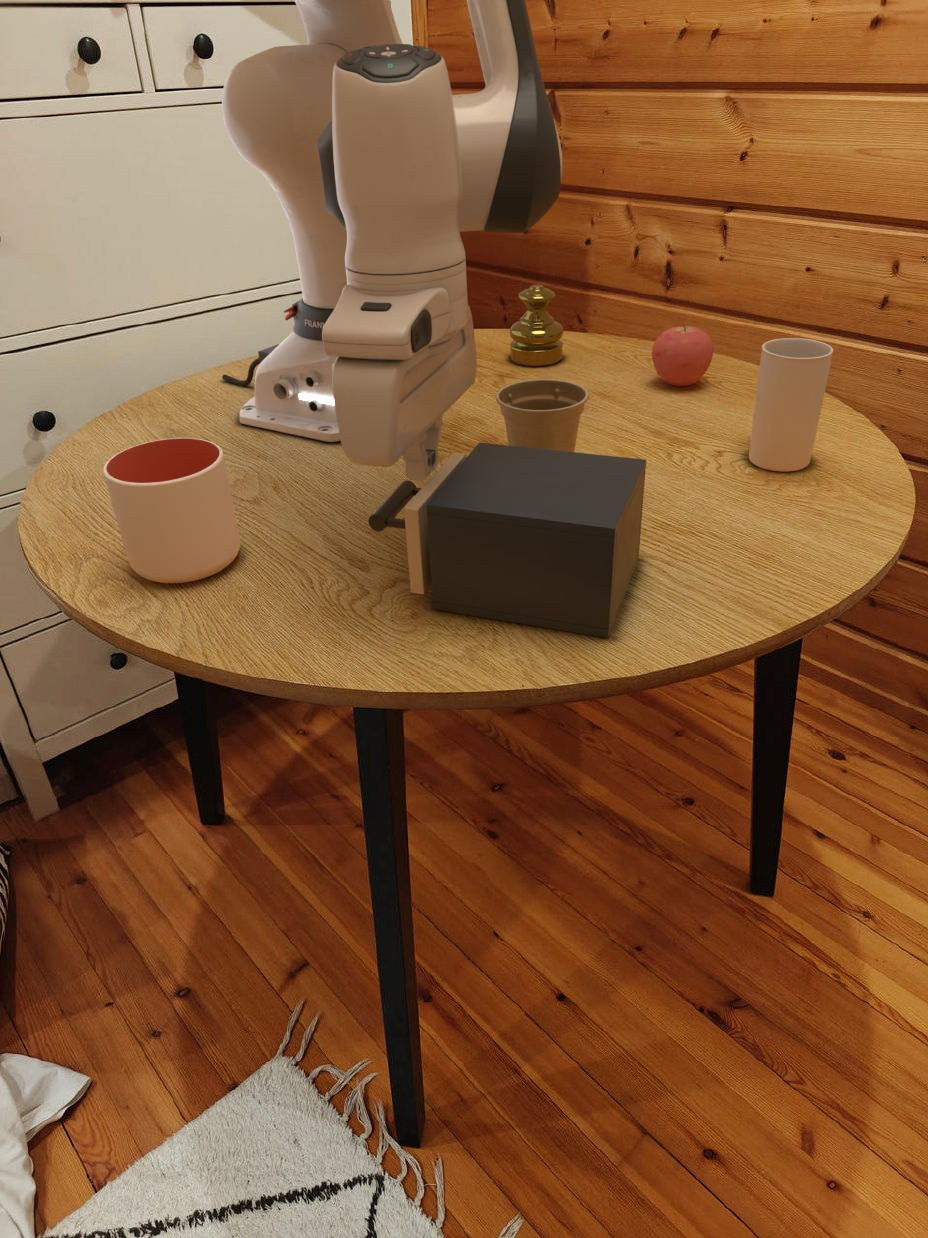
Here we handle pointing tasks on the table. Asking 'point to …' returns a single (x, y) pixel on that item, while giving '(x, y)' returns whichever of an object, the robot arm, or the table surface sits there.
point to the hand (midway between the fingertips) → (423, 473)
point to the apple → (682, 355)
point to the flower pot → (542, 413)
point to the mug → (788, 402)
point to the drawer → (415, 520)
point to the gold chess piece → (536, 330)
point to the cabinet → (537, 537)
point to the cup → (174, 508)
